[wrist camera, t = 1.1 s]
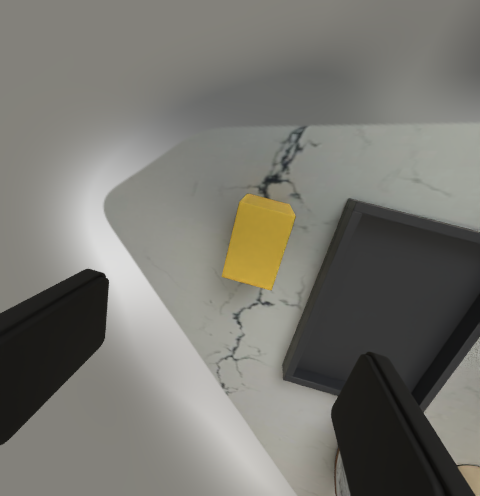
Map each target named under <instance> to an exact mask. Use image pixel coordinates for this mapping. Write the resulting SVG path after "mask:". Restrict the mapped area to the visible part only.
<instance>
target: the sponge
mask: <svg viewBox="0 0 480 496" xmlns="http://www.w3.org/2000/svg"><path fill="white" fill-rule="evenodd" d="M295 218H296V216H295V214H294V212H293V210H292V208H291V206H290V205H289V204H286V203H282V202H278V201H275V200H271V199H267V198H263V197H259V196H256V195H252V194H246V195H245V197H244V198H243V199H242V200H241V201H240V202H239V206H238V210H237V214H236V218H235V223H234V227H233V231H232V235H231V239H230V244H229V248H228V252H227V256H226V260H225V265H224V269H223V273H222V277H224V278H228V279H231V280H235V281H239V282H242V283H246V284H249V285H253V286H257V287H260V288H264V289H267V290H272V287H273V284H274V281H275V278H276V275H277V272H278V269H279V266H280V263H281V260H282V257H283V254H284V251H285V248H286V245H287V242H288V239H289V236H290V233H291V230H292V227H293V224H294V221H295Z"/></svg>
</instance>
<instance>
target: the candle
mask: <svg viewBox="0 0 480 496" xmlns="http://www.w3.org/2000/svg"><path fill="white" fill-rule="evenodd" d="M457 467H458V468H459V470H460V472H461V473H462V475H463V476H464V478H465V480H466V481H467V483H468V484H469V486H470V487H471V489H472V491H473V492H474V494H475V495H476V496H480V467H477V466H470V465H464V466H457Z"/></svg>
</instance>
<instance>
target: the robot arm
mask: <svg viewBox="0 0 480 496" xmlns="http://www.w3.org/2000/svg"><path fill="white" fill-rule="evenodd" d="M108 288H109V280H108V279H107V278H106V276H105V274H104V273H101V272H98V271H95V270H91V269H85V270H83V271H81V272H79V273H77V274H75V275H74V276H71V277H70V278H68V279H66V280H64V281H62V282H60V283H58V284H56V285H54V286H52V287H50V288H48V289H46V290H44V291H43V292H41V293H39V294H37V295H35V296H33V297H31V298H30V299H27V300H25V301H23V302H21V303H19V304H18V305H16V306H14V307H12V308H10V309H8V310H6V311H4V312H2V313H0V445H2V444H4V443H5V442H7V441H8V440H9V439H10V438H11V437H12V436H13V435H14V434H15V433H16V432H17V431H18V430H19V429H20V428H21V427H22V426H23V425H24V424H25V423H26V422H27V421H28V419H30V418H31V417H32V416H33V415H34V414H35V413H36V412H37V411H38V410H39V409H40V407H41V406H42V405H43V404H44V403H45V402H46V401H47V400H48V399H49V398H50V397H51V396H52V395H53V394H54V393H55V392H56V391H57V390H58V389H59V388H60V387H61V386H62V385H63V384H64V383H65V382H66V381H67V380H68V379H69V378H70V377H71V376H72V375H73V374H74V373H75V372H76V371H77V370H78V369H79V368H80V367H81V366H82V365H83V364H84V363H85V362H86V361H87V360H88V359H89V358H90V357H91V356H92V355H93V354H94V352H96V350H98V349H99V347H100V346H101V345H102V343H103V341H104V339H105V330H106V316H107V302H108ZM331 418H332V422H333V426H334V430H335V435H336V439H337V443H338V447H339V451H340V455H341V459H342V463H343V467H344V471H345V475H346V479H347V483H348V488H349V492H350V496H476V495H475V494H474V492H473V491H472V489H471V487H470V486H469V484H468V483H467V481H466V480H465V478H464V476H463V475H462V473H461V472H460V470H459V468H458V467H457V465H456V464H455V462H454V461H453V459H452V457H451V456H450V454H449V453H448V451H447V450H446V448H445V446H444V445H443V443H442V442H441V440H440V438H439V437H438V435H437V434H436V432H435V431H434V429H433V427H432V426H431V424H430V423H429V421H428V419H427V418H426V416H425V415H424V413H423V412H422V410H421V408H420V407H419V405H418V404H417V402H416V401H415V399H414V397H413V396H412V394H411V393H410V391H409V389H408V388H407V386H406V385H405V383H404V382H403V380H402V378H401V377H400V375H399V374H398V372H397V371H396V369H395V367H394V366H393V364H392V363H391V361H390V360H389V358H388V357H386V356H383V355H380V354H376V353H373V352H367V353H366V354H362V355H360V357H359V358H358V360H357V362H356V364H355V366H354V368H353V370H352V371H351V373H350V375H349V377H348V379H347V381H346V383H345V384H344V386H343V388H342V390H341V392H340V394H339V396H338V397H337V399H336V401H335V403H334V405H333V407H332V411H331Z"/></svg>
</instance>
